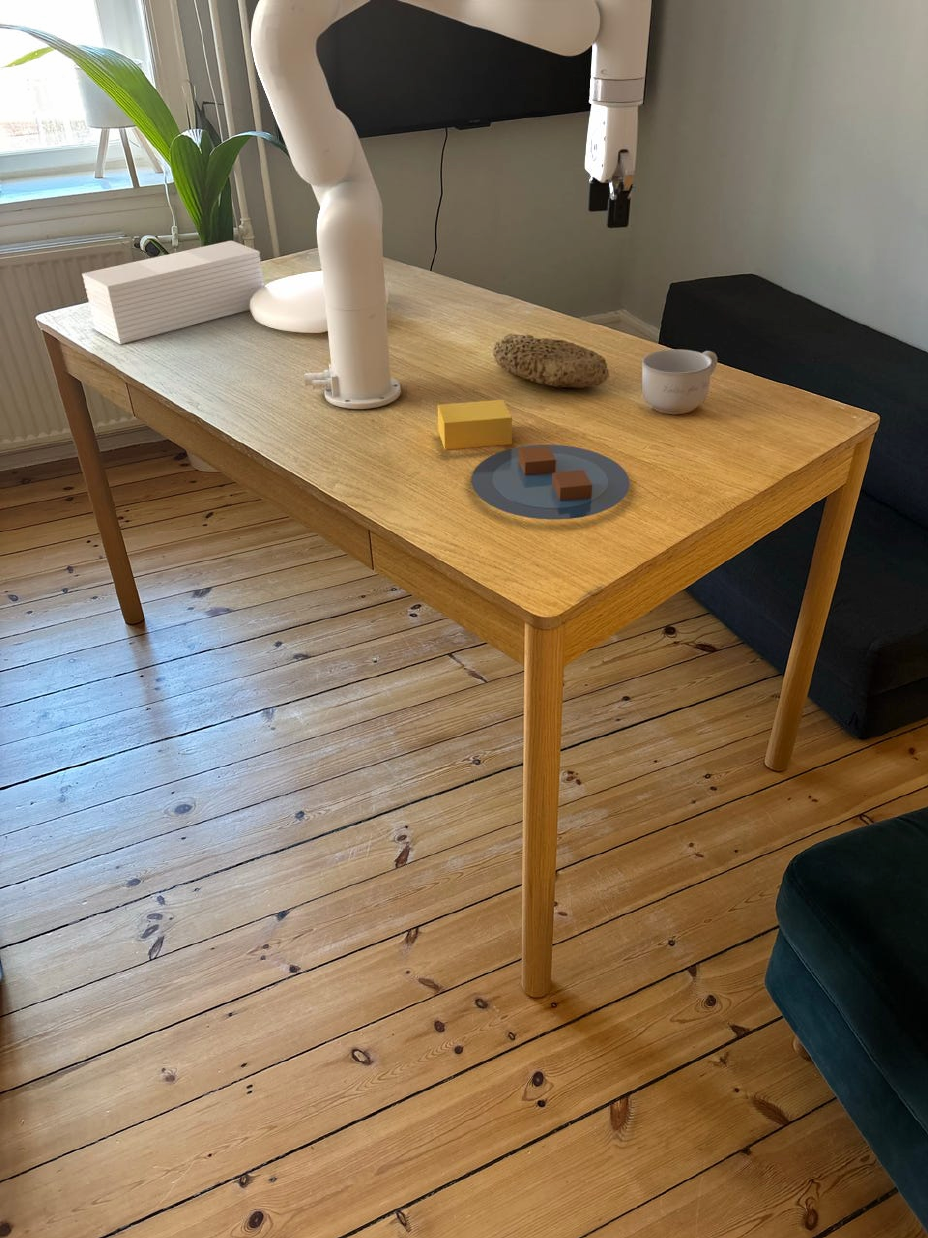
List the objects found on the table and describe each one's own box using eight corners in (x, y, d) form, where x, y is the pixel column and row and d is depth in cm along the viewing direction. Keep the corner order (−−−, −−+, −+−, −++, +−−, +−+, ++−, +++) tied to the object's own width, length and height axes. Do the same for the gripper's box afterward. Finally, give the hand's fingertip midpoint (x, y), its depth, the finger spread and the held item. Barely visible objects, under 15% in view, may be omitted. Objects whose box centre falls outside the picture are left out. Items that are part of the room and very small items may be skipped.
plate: (319, 324, 177) (217, 298, 190) (325, 358, 181) (225, 330, 194) (414, 269, 193) (315, 248, 206) (418, 300, 198) (320, 279, 211)
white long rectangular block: (238, 293, 207) (231, 240, 201) (266, 305, 201) (259, 250, 194) (95, 329, 190) (81, 273, 184) (120, 344, 184) (107, 286, 177)
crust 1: (524, 475, 137) (525, 462, 136) (518, 461, 141) (518, 448, 139) (555, 472, 138) (556, 459, 136) (548, 458, 141) (548, 445, 140)
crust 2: (559, 500, 131) (560, 487, 130) (551, 485, 135) (552, 472, 133) (591, 498, 132) (592, 484, 130) (582, 482, 135) (583, 469, 134)
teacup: (661, 425, 152) (667, 376, 148) (625, 400, 160) (629, 352, 156) (736, 410, 157) (743, 361, 152) (696, 385, 165) (703, 339, 160)
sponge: (485, 378, 171) (555, 393, 156) (487, 332, 169) (558, 342, 153) (546, 376, 178) (618, 390, 162) (548, 331, 175) (622, 340, 160)
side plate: (486, 535, 127) (486, 526, 126) (459, 458, 144) (458, 450, 143) (650, 519, 129) (651, 510, 129) (604, 446, 147) (605, 438, 146)
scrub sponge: (444, 457, 144) (443, 422, 141) (438, 438, 150) (437, 404, 146) (511, 451, 146) (512, 417, 143) (503, 432, 151) (503, 399, 148)
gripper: (574, 83, 145) (568, 206, 155) (609, 101, 131) (600, 235, 141) (623, 81, 146) (613, 203, 156) (663, 99, 132) (650, 232, 142)
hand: (607, 218), depth 148 cm, fingers open, 9 cm apart
